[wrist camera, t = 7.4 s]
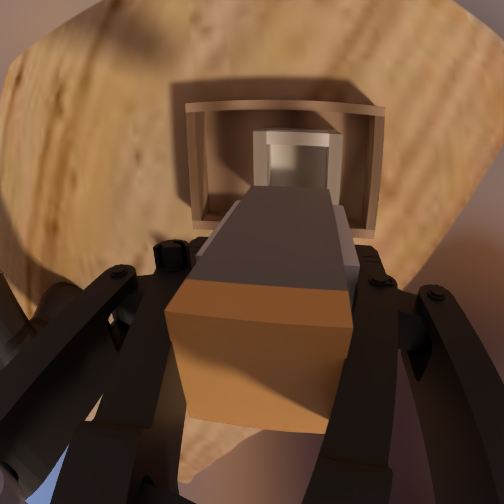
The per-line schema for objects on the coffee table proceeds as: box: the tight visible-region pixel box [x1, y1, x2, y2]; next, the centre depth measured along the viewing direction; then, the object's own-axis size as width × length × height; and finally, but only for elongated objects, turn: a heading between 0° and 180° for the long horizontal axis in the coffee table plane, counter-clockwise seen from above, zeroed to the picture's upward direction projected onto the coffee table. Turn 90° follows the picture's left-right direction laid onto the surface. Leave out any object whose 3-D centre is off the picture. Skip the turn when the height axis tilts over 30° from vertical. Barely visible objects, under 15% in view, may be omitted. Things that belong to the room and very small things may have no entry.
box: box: [185, 100, 385, 239], centre depth 32 cm, size 20×14×7 cm
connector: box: [164, 185, 353, 434], centre depth 12 cm, size 4×4×11 cm
